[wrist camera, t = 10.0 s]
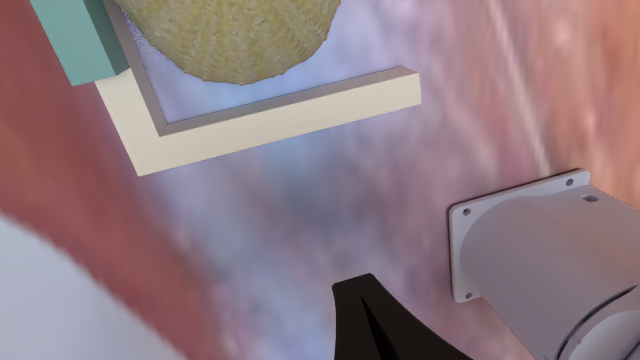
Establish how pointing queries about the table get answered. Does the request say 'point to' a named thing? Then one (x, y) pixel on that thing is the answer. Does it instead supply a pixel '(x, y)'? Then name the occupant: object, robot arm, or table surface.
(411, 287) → the table surface
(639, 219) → the robot arm
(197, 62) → the sea urchin shell
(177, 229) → the table surface
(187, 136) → the comb rack
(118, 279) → the table surface
